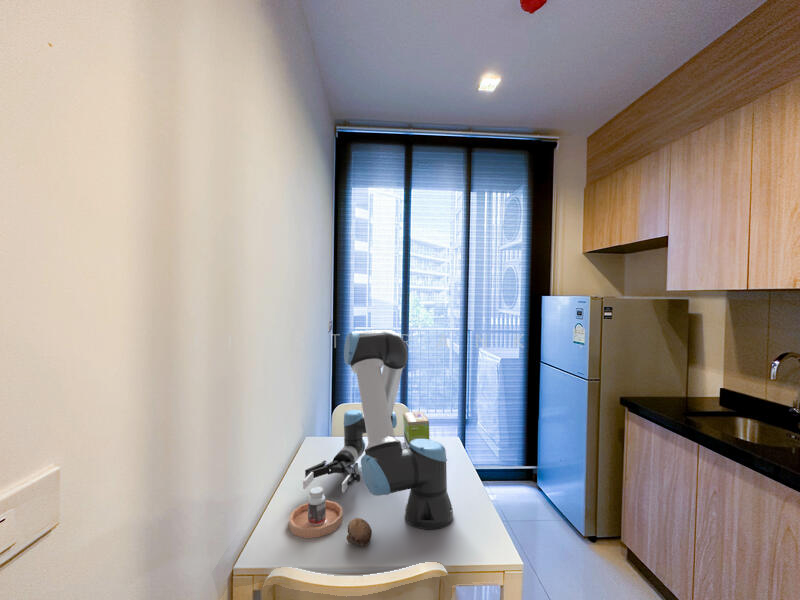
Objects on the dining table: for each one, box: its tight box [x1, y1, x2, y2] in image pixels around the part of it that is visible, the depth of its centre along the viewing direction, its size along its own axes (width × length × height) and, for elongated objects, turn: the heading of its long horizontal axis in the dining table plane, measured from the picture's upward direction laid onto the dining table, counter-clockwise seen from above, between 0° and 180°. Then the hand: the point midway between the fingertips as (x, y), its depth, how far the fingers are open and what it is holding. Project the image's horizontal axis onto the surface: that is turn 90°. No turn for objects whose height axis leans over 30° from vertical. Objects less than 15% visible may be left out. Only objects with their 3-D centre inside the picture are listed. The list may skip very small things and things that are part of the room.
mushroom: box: [346, 517, 373, 547], centre depth 105 cm, size 8×8×6 cm
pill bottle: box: [307, 486, 327, 526], centre depth 114 cm, size 5×5×10 cm
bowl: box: [288, 499, 344, 539], centre depth 115 cm, size 16×16×2 cm
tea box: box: [402, 411, 431, 448], centre depth 175 cm, size 15×10×15 cm
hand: (323, 486), depth 121 cm, fingers open, 13 cm apart
